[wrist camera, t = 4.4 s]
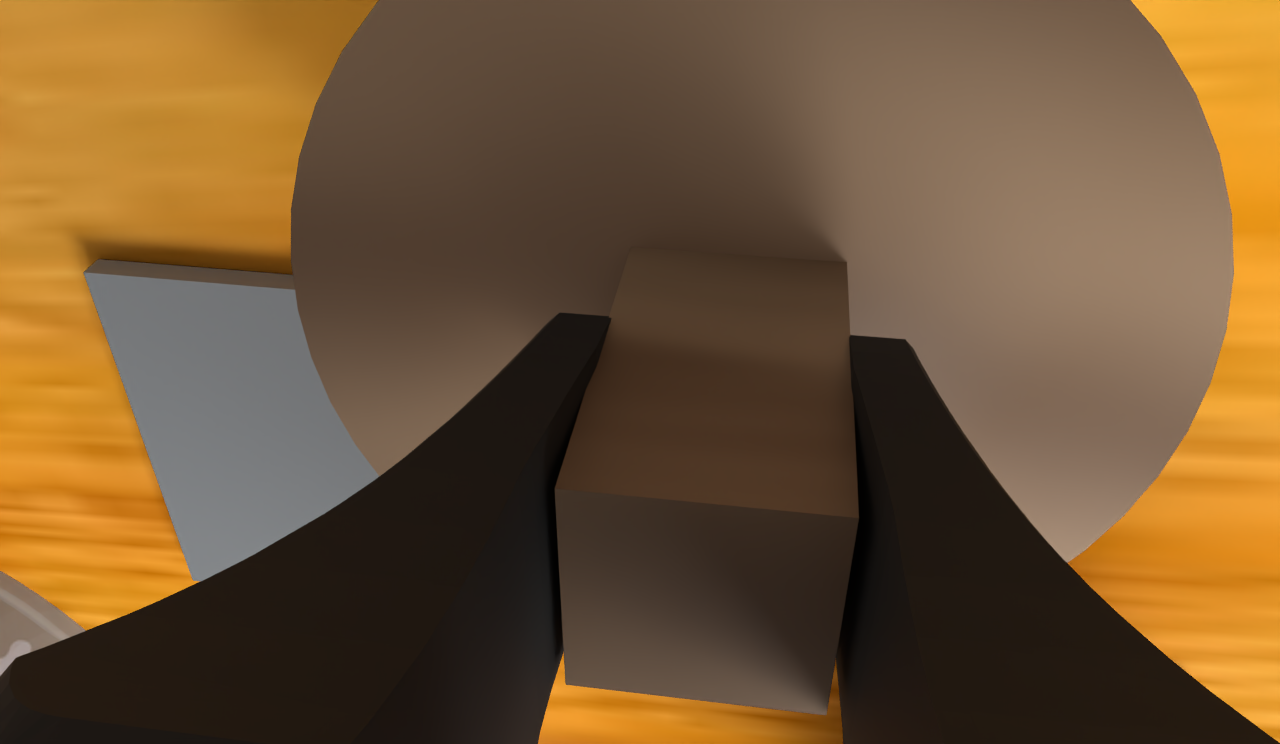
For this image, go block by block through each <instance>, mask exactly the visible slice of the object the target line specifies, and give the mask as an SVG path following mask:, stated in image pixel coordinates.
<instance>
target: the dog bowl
mask: <svg viewBox="0 0 1280 744" xmlns="http://www.w3.org/2000/svg"><path fill="white" fill-rule="evenodd" d="M84 631H85V630H84V629H83V628H82V627H81V626H79V625H78V624H77V623H76V622H75V621H73V620H72V619H71V618H70V617H68V616H67V615H66V614H64V613H63V612H62V611H61V610H59V609H58V608H57V607H55V606H54V605H52V604H51V603H50V602H48V601H47V600H45V599H44V598H42V597H41V596H40V595H38V594H37V593H35V592H34V591H32V590H30V589H29V588H27V587H26V586H24V585H23V584H21V583H20V582H18V581H16V580H15V579H13V578H11V577H10V576H8V575H6V574H5V573H3V572H1V571H0V676H1V675H2V673H3V672H4V671H5V670H6V669H7V667H8V666H9V665H10V664H11V663H12V662H13V660H14V659H15V658H16V657H19V656H21V655H24V654H27V653H30V652H33V651H35V650H38V649H41V648H44V647H46V646H49V645H51V644H54V643H56V642H59V641H61V640H64V639H66V638H69V637H72V636H74V635H77V634H79V633H82V632H84Z"/></svg>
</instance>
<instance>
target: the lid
mask: <svg viewBox="0 0 1280 744" xmlns="http://www.w3.org/2000/svg"><path fill="white" fill-rule="evenodd" d="M291 265H292V272H293V279H294V286H295V293H296V300H297V307H298V312H299V316H300V320H301V323H302V327H303V330H304V334H305V337H306V341H307V344H308V348H309V351H310V355H311V358H312V360H313V363H314V365H315V367H316V370H317V372H318V374H319V377H320V379H321V381H322V384H323V386H324V388H325V391H326V393H327V395H328V398H329V400H330V402H331V404H332V406H333V407H334V409H335V411H336V412H337V414H338V416H339V418H340V419H341V421H342V423H343V424H344V426H345V428H346V430H347V431H348V433H349V435H350V436H351V438H352V440H353V442H354V443H355V445H356V446H357V447H358V449H359V450H360V451H361V453H362V454H363V455H364V457H365V458H366V459H367V461H368V462H369V463H370V465H371V466H372V467H373V469H374V470H375V471H376V473H377V474H378V475H379V476H381V475H382V474H383V473H385V472H386V471H387V470H388V469H390V468H391V467H392V466H394V465H395V464H396V463H398V462H399V461H400V460H401V459H403V458H404V457H405V456H406V455H408V454H409V453H410V452H411V451H412V450H414V449H415V448H416V447H417V446H418V445H420V444H421V443H422V442H423V441H424V440H426V439H427V438H428V437H429V436H430V435H431V434H433V433H434V432H435V431H436V430H437V429H439V428H440V427H441V426H442V425H443V424H445V423H446V422H447V421H448V420H449V419H450V418H452V417H453V416H454V415H455V414H456V413H457V412H458V411H459V410H460V409H461V408H462V407H464V406H465V405H466V404H467V403H468V402H469V401H470V400H471V399H472V398H473V397H474V396H475V395H476V394H477V393H478V392H479V391H480V390H482V389H483V388H484V387H485V386H486V385H487V384H488V383H489V382H490V381H491V380H492V379H493V378H494V377H495V376H496V375H497V374H498V373H499V372H500V371H501V370H502V369H503V368H504V367H505V366H506V365H507V364H508V363H509V362H510V361H511V360H512V359H513V358H514V357H515V356H516V355H517V354H518V353H519V352H520V351H521V350H522V349H523V348H524V347H525V346H526V345H527V344H528V343H529V342H530V341H531V340H532V339H533V338H534V336H535V335H536V334H537V333H538V332H539V331H540V330H541V329H542V328H543V327H544V326H545V325H546V324H547V323H548V322H549V321H550V320H551V319H552V318H553V317H555V316H556V315H557V314H558V313H560V312H561V313H574V314H587V315H600V316H609V318H612V319H611V322H610V325H609V328H608V331H607V335H606V338H605V341H604V344H603V348H602V351H601V354H600V357H599V361H598V364H597V367H596V369H595V371H594V373H593V375H592V377H591V380H590V382H589V384H588V386H587V388H586V391H585V394H584V397H583V400H582V403H581V407H580V410H579V413H578V416H577V419H576V422H575V426H574V429H573V432H572V435H571V438H570V441H569V445H568V448H567V451H566V454H565V457H564V460H563V464H562V467H561V470H560V473H559V476H558V479H557V483H556V486H555V504H556V522H557V540H558V558H559V575H560V593H561V611H562V629H563V647H564V664H565V682H566V685H574V686H582V687H591V688H599V689H608V690H616V691H625V692H633V693H642V694H650V695H659V696H667V697H675V698H684V699H692V700H701V701H709V702H718V703H726V704H735V705H743V706H752V707H760V708H769V709H777V710H785V711H794V712H802V713H811V714H819V715H826V714H827V708H828V702H829V696H830V690H831V684H832V678H833V672H834V666H835V660H836V654H837V648H838V642H839V636H840V630H841V624H842V618H843V612H844V606H845V599H846V593H847V587H848V581H849V575H850V569H851V563H852V557H853V551H854V545H855V539H856V533H857V527H858V521H859V508H858V486H857V465H856V444H855V422H854V401H853V393H852V388H851V369H850V347H849V337H850V335H857V336H870V337H883V338H896V339H906V340H907V342H908V343H909V344H910V345H911V346H912V348H913V349H914V350H915V352H916V354H917V356H918V358H919V360H920V362H921V364H922V365H923V367H924V369H925V371H926V373H927V374H928V376H929V378H930V380H931V381H932V383H933V385H934V386H935V388H936V390H937V391H938V393H939V395H940V396H941V398H942V400H943V401H944V403H945V404H946V406H947V408H948V409H949V411H950V412H951V414H952V416H953V417H954V419H955V420H956V422H957V423H958V425H959V426H960V428H961V429H962V431H963V432H964V434H965V435H966V437H967V438H968V440H969V441H970V442H971V444H972V445H973V447H974V448H975V450H976V451H977V452H978V454H979V455H980V457H981V458H982V460H983V461H984V462H985V464H986V465H987V467H988V468H989V470H990V471H991V472H992V474H993V475H994V476H995V478H996V479H997V480H998V482H999V483H1000V484H1001V486H1002V487H1003V488H1004V490H1005V491H1006V492H1007V493H1008V495H1009V496H1010V497H1011V498H1012V500H1013V501H1014V502H1015V503H1016V505H1017V506H1018V507H1019V508H1020V510H1021V511H1022V512H1023V513H1024V514H1025V516H1026V517H1027V518H1028V519H1029V521H1030V522H1031V523H1032V524H1033V526H1034V527H1035V528H1036V529H1037V530H1038V531H1039V532H1040V534H1041V535H1042V536H1043V537H1044V538H1045V539H1046V541H1047V542H1048V543H1049V544H1050V545H1051V546H1052V547H1053V549H1054V550H1055V551H1056V552H1057V553H1058V554H1059V555H1060V556H1061V557H1062V558H1063V559H1064V560H1065V561H1066V562H1069V561H1070V560H1072V559H1073V558H1075V557H1076V556H1077V555H1079V554H1080V553H1082V552H1083V551H1085V550H1086V549H1087V548H1088V547H1089V546H1090V545H1091V544H1093V543H1094V542H1095V541H1096V540H1097V539H1098V538H1099V537H1100V536H1102V535H1103V534H1104V533H1105V532H1106V531H1107V530H1108V529H1109V528H1111V527H1112V526H1113V525H1114V524H1115V523H1116V522H1117V521H1118V520H1119V519H1121V518H1122V517H1123V516H1124V515H1125V514H1126V512H1127V511H1128V510H1129V509H1130V508H1131V507H1132V506H1133V504H1134V503H1135V502H1136V501H1137V500H1138V499H1139V498H1140V496H1141V495H1142V494H1143V493H1144V492H1145V491H1146V490H1147V488H1148V487H1149V486H1150V485H1151V484H1152V483H1153V482H1154V480H1155V479H1156V478H1157V477H1158V476H1159V474H1160V473H1161V471H1162V470H1163V468H1164V467H1165V465H1166V464H1167V462H1168V461H1169V459H1170V457H1171V456H1172V454H1173V453H1174V451H1175V450H1176V448H1177V447H1178V445H1179V444H1180V442H1181V441H1182V439H1183V438H1184V436H1185V435H1186V433H1187V432H1188V430H1189V427H1190V425H1191V423H1192V421H1193V419H1194V417H1195V415H1196V413H1197V410H1198V408H1199V406H1200V404H1201V402H1202V400H1203V398H1204V396H1205V394H1206V391H1207V389H1208V387H1209V385H1210V383H1211V380H1212V376H1213V373H1214V370H1215V366H1216V363H1217V359H1218V356H1219V353H1220V349H1221V346H1222V343H1223V339H1224V336H1225V333H1226V329H1227V321H1228V313H1229V306H1230V298H1231V291H1232V283H1233V275H1234V265H1233V235H1232V213H1231V208H1230V203H1229V198H1228V193H1227V189H1226V184H1225V179H1224V174H1223V169H1222V164H1221V159H1220V155H1219V152H1218V149H1217V147H1216V144H1215V142H1214V139H1213V136H1212V134H1211V131H1210V129H1209V126H1208V124H1207V121H1206V119H1205V116H1204V113H1203V111H1202V108H1201V106H1200V103H1199V101H1198V98H1197V96H1196V93H1195V92H1194V90H1193V88H1192V87H1191V85H1190V83H1189V82H1188V80H1187V78H1186V77H1185V75H1184V73H1183V72H1182V70H1181V68H1180V67H1179V65H1178V63H1177V62H1176V60H1175V58H1174V57H1173V55H1172V54H1171V52H1170V50H1169V49H1168V47H1167V45H1166V44H1165V42H1164V40H1163V39H1162V37H1161V36H1160V34H1159V33H1158V32H1157V31H1156V30H1155V29H1154V27H1153V26H1152V25H1151V24H1150V23H1149V22H1148V20H1147V19H1146V18H1145V17H1144V16H1143V15H1142V13H1141V12H1140V11H1139V10H1138V9H1137V8H1136V6H1135V5H1134V4H1133V3H1132V2H1131V0H379V1H378V2H377V3H376V5H375V6H374V7H373V9H372V10H371V12H370V13H369V14H368V16H367V17H366V19H365V20H364V21H363V23H362V24H361V26H360V27H359V28H358V30H357V31H356V33H355V34H354V35H353V37H352V38H351V40H350V41H349V42H348V44H347V45H346V47H345V48H344V49H343V51H342V53H341V55H340V57H339V59H338V61H337V63H336V65H335V67H334V69H333V71H332V73H331V75H330V77H329V79H328V81H327V83H326V85H325V87H324V89H323V91H322V93H321V95H320V97H319V99H318V101H317V103H316V105H315V108H314V112H313V115H312V118H311V121H310V124H309V127H308V131H307V134H306V137H305V140H304V143H303V146H302V149H301V153H300V156H299V162H298V168H297V175H296V181H295V188H294V194H293V200H292V207H291Z"/></svg>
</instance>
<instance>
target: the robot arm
mask: <svg viewBox="0 0 1280 744" xmlns="http://www.w3.org/2000/svg"><path fill="white" fill-rule="evenodd" d="M611 319H612V318H609V316H600V315H587V314H574V313H561V312H560V313H558V314H557V315H556V316H555V317H553V318H552V319H551V320H550V321H549V322H548V323H547V324H546V325H545V326H544V327H543V328H542V329H541V330H540V331H539V332H538V333H537V334H536V335H535V336H534V338H533V339H532V340H531V341H530V342H529V343H528V344H527V345H526V346H525V347H524V348H523V349H522V350H521V351H520V352H519V353H518V354H517V355H516V356H515V357H514V358H513V359H512V360H511V361H510V362H509V363H508V364H507V365H506V366H505V367H504V368H503V369H502V370H501V371H500V372H499V373H498V374H497V375H496V376H495V377H494V378H493V379H492V380H491V381H490V382H489V383H488V384H487V385H486V386H485V387H484V388H483V389H482V390H480V391H479V392H478V393H477V394H476V395H475V396H474V397H473V398H472V399H471V400H470V401H469V402H468V403H467V404H466V405H465V406H464V407H462V408H461V409H460V410H459V411H458V412H457V413H456V414H455V415H454V416H453V417H452V418H450V419H449V420H448V421H447V422H446V423H445V424H443V425H442V426H441V427H440V428H439V429H437V430H436V431H435V432H434V433H433V434H431V435H430V436H429V437H428V438H427V439H426V440H424V441H423V442H422V443H421V444H420V445H418V446H417V447H416V448H415V449H414V450H412V451H411V452H410V453H409V454H408V455H406V456H405V457H404V458H403V459H401V460H400V461H399V462H398V463H396V464H395V465H394V466H392V467H391V468H390V469H388V470H387V471H386V472H385V473H383V474H382V475H381V476H379V477H378V478H377V479H375V480H374V481H372V482H371V483H370V484H368V485H367V486H365V487H364V488H362V489H361V490H359V491H358V492H356V493H355V494H353V495H352V496H350V497H349V498H348V499H346V500H345V501H343V502H342V503H340V504H339V505H337V506H336V507H334V508H332V509H331V510H329V511H328V512H326V513H325V514H323V515H321V516H319V517H318V518H316V519H314V520H313V521H311V522H309V523H307V524H306V525H304V526H302V527H300V528H299V529H297V530H295V531H294V532H292V533H290V534H288V535H287V536H285V537H283V538H281V539H280V540H278V541H276V542H275V543H273V544H271V545H269V546H268V547H266V548H264V549H263V550H261V551H259V552H257V553H256V554H254V555H252V556H250V557H248V558H246V559H244V560H243V561H241V562H239V563H237V564H235V565H233V566H231V567H229V568H227V569H225V570H223V571H221V572H219V573H217V574H215V575H213V576H211V577H209V578H207V579H205V580H203V581H201V582H199V583H196V584H194V585H192V586H190V587H188V588H186V589H184V590H181V591H179V592H177V593H175V594H173V595H171V596H168V597H166V598H164V599H162V600H160V601H158V602H155V603H153V604H151V605H148V606H146V607H144V608H142V609H139V610H137V611H135V612H132V613H130V614H128V615H125V616H122V617H120V618H117V619H115V620H112V621H110V622H107V623H105V624H102V625H100V626H97V627H94V628H92V629H89V630H87V631H84V632H82V633H79V634H77V635H74V636H72V637H69V638H66V639H64V640H61V641H59V642H56V643H54V644H51V645H49V646H46V647H44V648H41V649H38V650H35V651H33V652H30V653H27V654H24V655H21V656H19V657H16V658H15V659H14V660H13V662H12V663H11V664H10V665H9V666H8V667H7V669H6V670H5V671H4V672H3V673H2V675H1V676H0V744H538V740H539V735H540V730H541V726H542V722H543V719H544V715H545V711H546V708H547V704H548V700H549V696H550V693H551V689H552V686H553V683H554V680H555V677H556V674H557V670H558V667H559V664H560V661H561V658H562V655H563V652H564V647H563V629H562V611H561V593H560V575H559V558H558V540H557V522H556V504H555V486H556V483H557V479H558V476H559V473H560V470H561V467H562V464H563V460H564V457H565V454H566V451H567V448H568V445H569V441H570V438H571V435H572V432H573V429H574V426H575V422H576V419H577V416H578V413H579V410H580V407H581V403H582V400H583V397H584V394H585V391H586V388H587V386H588V384H589V382H590V380H591V377H592V375H593V373H594V371H595V369H596V367H597V364H598V361H599V357H600V354H601V351H602V348H603V344H604V341H605V338H606V335H607V331H608V328H609V325H610V322H611ZM849 347H850V369H851V388H852V393H853V401H854V422H855V444H856V465H857V486H858V508H859V521H858V527H857V533H856V539H855V545H854V551H853V557H852V563H851V569H850V575H849V581H848V587H847V593H846V599H845V606H844V612H843V618H842V624H841V630H840V636H839V642H838V648H837V654H836V663H837V674H838V685H839V695H840V706H841V716H842V727H843V744H1280V743H1279V742H1278V741H1276V740H1275V739H1273V738H1272V737H1270V736H1269V735H1268V734H1266V733H1265V732H1264V731H1262V730H1261V729H1260V728H1258V727H1257V726H1256V725H1254V724H1253V723H1252V722H1250V721H1249V720H1248V719H1246V718H1245V717H1244V716H1242V715H1241V714H1240V713H1238V712H1237V711H1236V710H1234V709H1233V708H1232V707H1230V706H1229V705H1228V704H1226V703H1225V702H1224V701H1222V700H1221V699H1220V698H1218V697H1217V696H1216V695H1214V694H1213V693H1212V692H1210V691H1209V690H1208V689H1207V688H1205V687H1204V686H1203V685H1202V684H1200V683H1199V682H1198V681H1197V680H1195V679H1194V678H1193V677H1192V676H1190V675H1189V674H1188V673H1187V672H1185V671H1184V670H1183V669H1182V668H1180V667H1179V666H1178V665H1177V664H1176V663H1174V662H1173V661H1172V660H1171V659H1169V658H1168V657H1167V656H1166V655H1165V654H1164V653H1163V652H1161V651H1160V650H1159V649H1158V648H1157V647H1156V646H1155V645H1153V644H1152V643H1151V642H1150V641H1149V640H1148V639H1147V638H1145V637H1144V636H1143V635H1142V634H1141V633H1140V632H1139V631H1137V630H1136V629H1135V628H1134V627H1133V626H1132V625H1131V624H1129V623H1128V622H1127V621H1126V620H1125V619H1124V618H1123V617H1122V616H1120V615H1119V614H1118V613H1117V612H1116V611H1115V610H1114V609H1113V608H1112V607H1111V606H1110V605H1109V604H1108V603H1106V602H1105V601H1104V600H1103V599H1102V598H1101V597H1100V596H1099V595H1098V594H1097V593H1096V592H1095V591H1094V590H1093V589H1092V588H1091V587H1090V586H1089V585H1088V584H1087V583H1086V582H1085V581H1084V580H1083V579H1082V578H1081V577H1080V576H1079V575H1078V574H1077V573H1076V572H1075V571H1074V570H1073V569H1072V568H1071V567H1070V566H1069V564H1068V563H1067V562H1066V561H1065V560H1064V559H1063V558H1062V557H1061V556H1060V555H1059V554H1058V553H1057V552H1056V551H1055V550H1054V549H1053V547H1052V546H1051V545H1050V544H1049V543H1048V542H1047V541H1046V539H1045V538H1044V537H1043V536H1042V535H1041V534H1040V532H1039V531H1038V530H1037V529H1036V528H1035V527H1034V526H1033V524H1032V523H1031V522H1030V521H1029V519H1028V518H1027V517H1026V516H1025V514H1024V513H1023V512H1022V511H1021V510H1020V508H1019V507H1018V506H1017V505H1016V503H1015V502H1014V501H1013V500H1012V498H1011V497H1010V496H1009V495H1008V493H1007V492H1006V491H1005V490H1004V488H1003V487H1002V486H1001V484H1000V483H999V482H998V480H997V479H996V478H995V476H994V475H993V474H992V472H991V471H990V470H989V468H988V467H987V465H986V464H985V462H984V461H983V460H982V458H981V457H980V455H979V454H978V452H977V451H976V450H975V448H974V447H973V445H972V444H971V442H970V441H969V440H968V438H967V437H966V435H965V434H964V432H963V431H962V429H961V428H960V426H959V425H958V423H957V422H956V420H955V419H954V417H953V416H952V414H951V412H950V411H949V409H948V408H947V406H946V404H945V403H944V401H943V400H942V398H941V396H940V395H939V393H938V391H937V390H936V388H935V386H934V385H933V383H932V381H931V380H930V378H929V376H928V374H927V373H926V371H925V369H924V367H923V365H922V364H921V362H920V360H919V358H918V356H917V354H916V352H915V350H914V349H913V348H912V346H911V345H910V344H909V343H908V342H907V340H906V339H896V338H883V337H870V336H857V335H850V337H849Z"/></svg>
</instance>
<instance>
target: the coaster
mask: <svg viewBox="0 0 1280 744" xmlns="http://www.w3.org/2000/svg"><path fill="white" fill-rule="evenodd" d="M83 273H84V275H85V278H86V281H87V284H88V287H89V289H90V292H91V295H92V298H93V301H94V304H95V306H96V309H97V312H98V315H99V318H100V320H101V323H102V326H103V329H104V332H105V334H106V337H107V340H108V343H109V346H110V348H111V351H112V354H113V357H114V360H115V363H116V365H117V368H118V371H119V374H120V377H121V379H122V382H123V385H124V388H125V391H126V393H127V396H128V399H129V402H130V405H131V408H132V410H133V413H134V416H135V419H136V422H137V424H138V427H139V430H140V433H141V436H142V438H143V441H144V444H145V447H146V450H147V452H148V455H149V458H150V461H151V464H152V467H153V469H154V472H155V475H156V478H157V481H158V483H159V486H160V489H161V492H162V495H163V497H164V500H165V503H166V506H167V509H168V512H169V514H170V517H171V520H172V523H173V526H174V528H175V531H176V534H177V537H178V540H179V542H180V545H181V548H182V551H183V554H184V556H185V559H186V562H187V565H188V568H189V571H190V573H191V576H192V579H193V580H194V581H203V580H205V579H207V578H209V577H211V576H213V575H215V574H217V573H219V572H221V571H223V570H225V569H227V568H229V567H231V566H233V565H235V564H237V563H239V562H241V561H243V560H244V559H246V558H248V557H250V556H252V555H254V554H256V553H257V552H259V551H261V550H263V549H264V548H266V547H268V546H269V545H271V544H273V543H275V542H276V541H278V540H280V539H281V538H283V537H285V536H287V535H288V534H290V533H292V532H294V531H295V530H297V529H299V528H300V527H302V526H304V525H306V524H307V523H309V522H311V521H313V520H314V519H316V518H318V517H319V516H321V515H323V514H325V513H326V512H328V511H329V510H331V509H332V508H334V507H336V506H337V505H339V504H340V503H342V502H343V501H345V500H346V499H348V498H349V497H350V496H352V495H353V494H355V493H356V492H358V491H359V490H361V489H362V488H364V487H365V486H367V485H368V484H370V483H371V482H372V481H374V480H375V479H377V478H378V477H379V475H378V474H377V473H376V471H375V470H374V469H373V467H372V466H371V465H370V463H369V462H368V461H367V459H366V458H365V457H364V455H363V454H362V453H361V451H360V450H359V449H358V447H357V446H356V445H355V443H354V442H353V440H352V438H351V436H350V435H349V433H348V431H347V430H346V428H345V426H344V424H343V423H342V421H341V419H340V418H339V416H338V414H337V412H336V411H335V409H334V407H333V406H332V404H331V402H330V400H329V398H328V395H327V393H326V391H325V388H324V386H323V384H322V381H321V379H320V377H319V374H318V372H317V370H316V367H315V365H314V363H313V360H312V358H311V355H310V351H309V348H308V344H307V341H306V337H305V334H304V330H303V327H302V323H301V320H300V316H299V312H298V307H297V300H296V293H295V286H294V279H293V275H288V274H276V273H264V272H251V271H239V270H227V269H214V268H202V267H190V266H177V265H165V264H153V263H140V262H128V261H116V260H103V259H98V260H97V261H96V262H94V263H93V264H92V265H91V266H90V267H89V268H88V269H87V270H85V271H84V272H83Z"/></svg>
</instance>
